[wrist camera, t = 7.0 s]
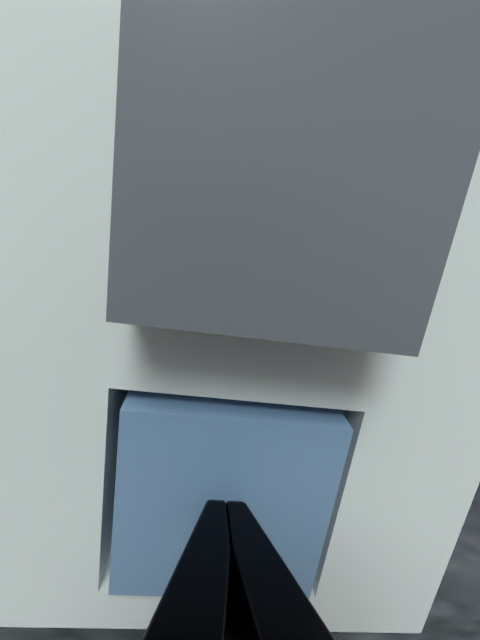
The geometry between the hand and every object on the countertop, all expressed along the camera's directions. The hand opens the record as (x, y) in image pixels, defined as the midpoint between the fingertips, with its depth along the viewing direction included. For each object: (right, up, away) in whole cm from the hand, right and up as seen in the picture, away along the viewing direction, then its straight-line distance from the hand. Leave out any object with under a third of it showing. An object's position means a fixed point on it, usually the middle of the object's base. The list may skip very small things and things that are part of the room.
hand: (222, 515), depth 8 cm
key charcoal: (+1, +7, 0) cm, 7 cm away
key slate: (0, +1, +3) cm, 3 cm away
